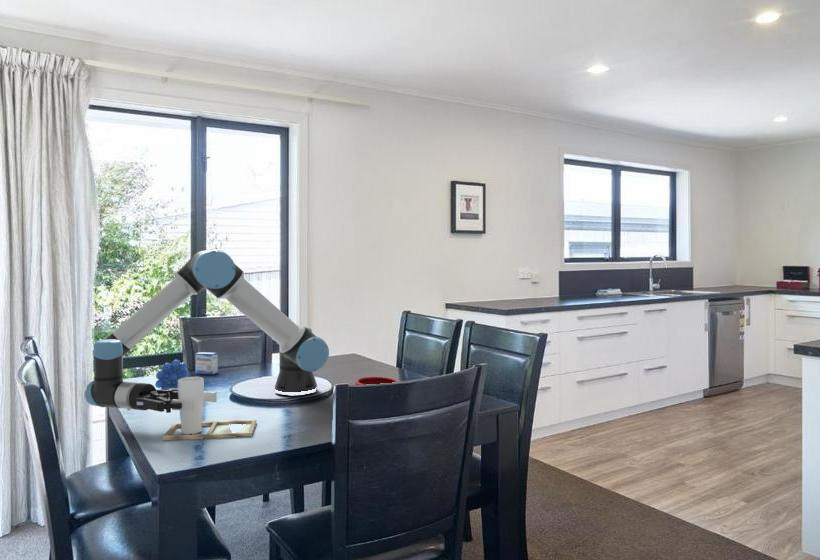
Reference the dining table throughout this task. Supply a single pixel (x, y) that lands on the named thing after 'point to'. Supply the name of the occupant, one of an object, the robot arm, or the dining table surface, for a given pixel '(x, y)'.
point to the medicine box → (206, 363)
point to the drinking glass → (195, 392)
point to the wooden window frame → (215, 430)
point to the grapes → (171, 375)
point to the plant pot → (374, 380)
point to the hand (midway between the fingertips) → (204, 401)
